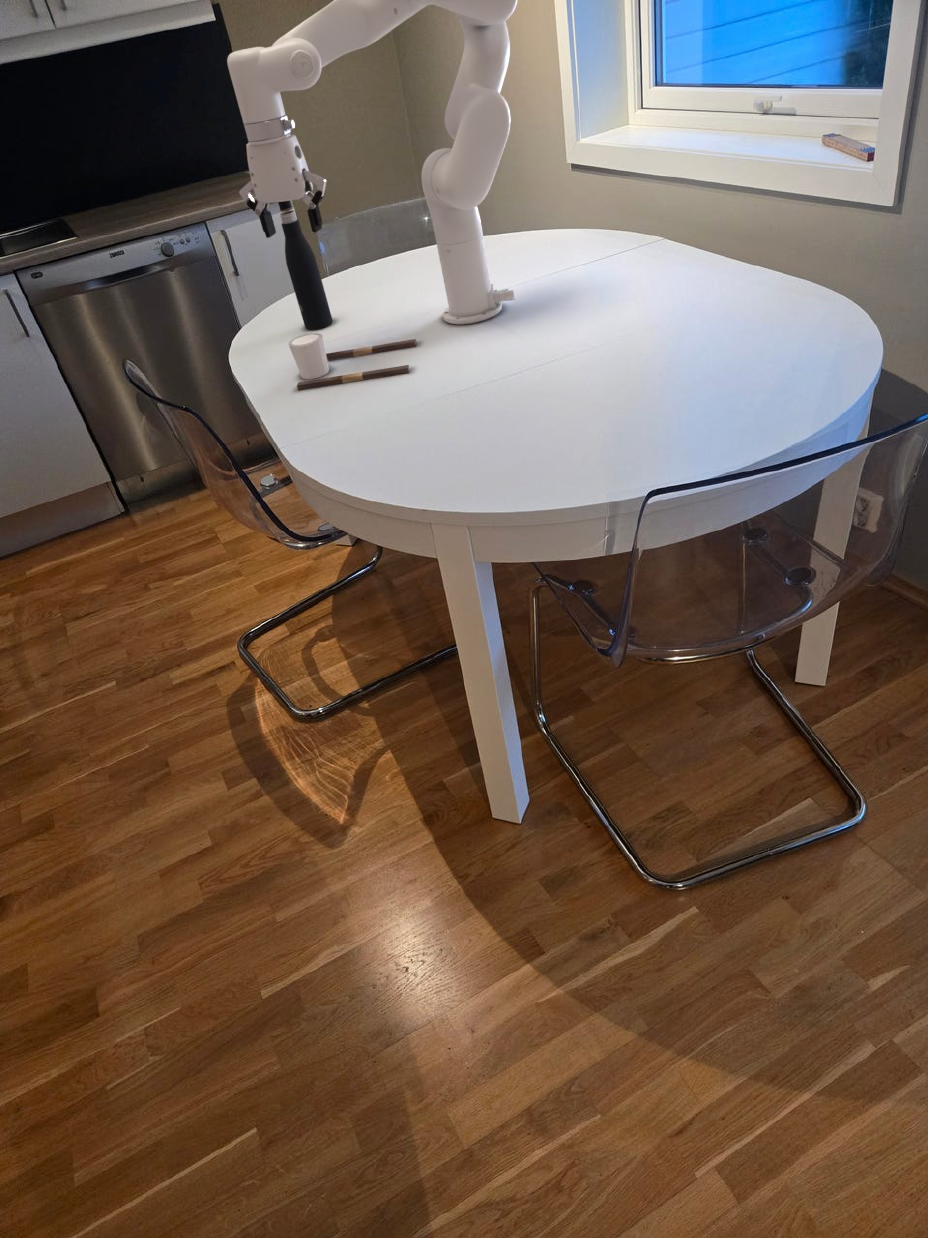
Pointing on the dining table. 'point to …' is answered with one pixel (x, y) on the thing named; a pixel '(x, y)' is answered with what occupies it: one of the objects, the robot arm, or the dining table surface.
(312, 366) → the white cup
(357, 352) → the guide rails
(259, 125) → the robot arm
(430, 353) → the dining table surface
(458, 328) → the dining table surface
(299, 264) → the wine bottle
